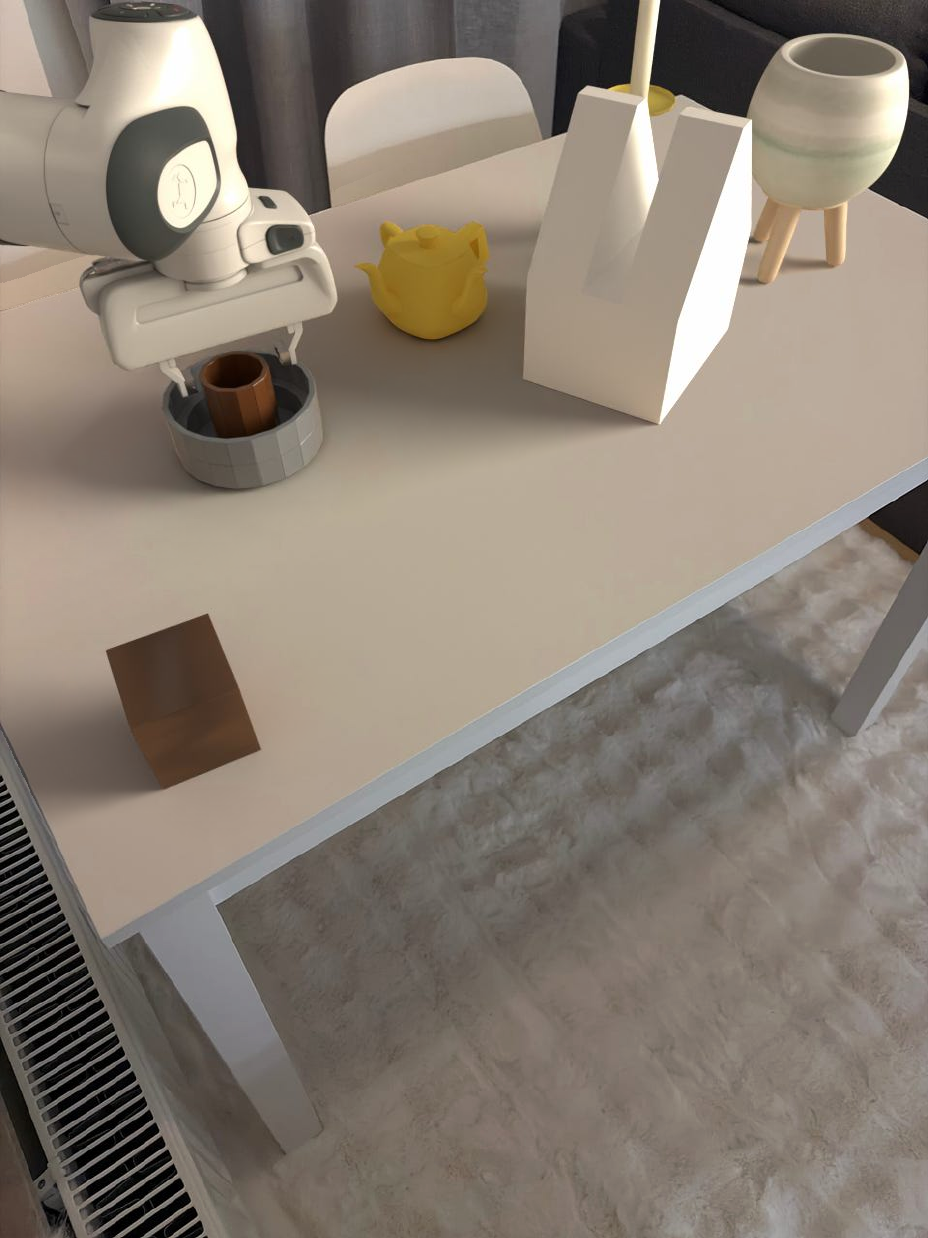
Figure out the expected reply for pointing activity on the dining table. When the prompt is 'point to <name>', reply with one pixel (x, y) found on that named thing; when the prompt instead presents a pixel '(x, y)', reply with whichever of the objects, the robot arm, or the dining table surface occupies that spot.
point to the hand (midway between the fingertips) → (238, 377)
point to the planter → (823, 134)
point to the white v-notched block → (637, 254)
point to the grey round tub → (255, 454)
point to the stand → (182, 701)
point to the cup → (239, 394)
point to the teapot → (430, 278)
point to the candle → (646, 62)
